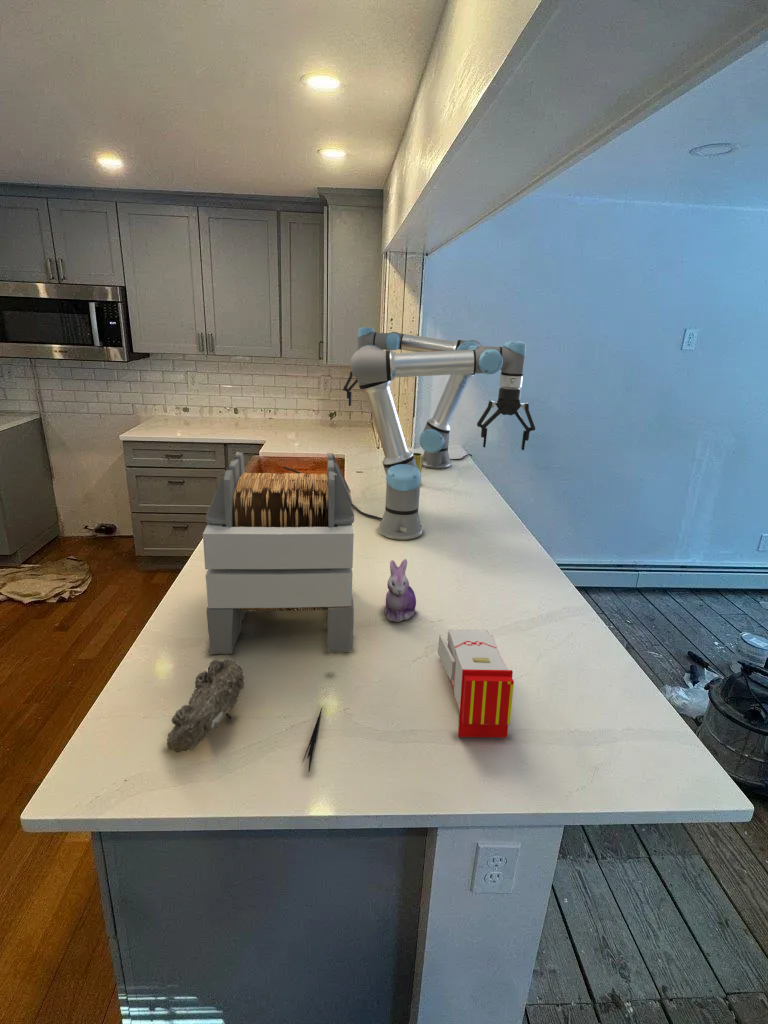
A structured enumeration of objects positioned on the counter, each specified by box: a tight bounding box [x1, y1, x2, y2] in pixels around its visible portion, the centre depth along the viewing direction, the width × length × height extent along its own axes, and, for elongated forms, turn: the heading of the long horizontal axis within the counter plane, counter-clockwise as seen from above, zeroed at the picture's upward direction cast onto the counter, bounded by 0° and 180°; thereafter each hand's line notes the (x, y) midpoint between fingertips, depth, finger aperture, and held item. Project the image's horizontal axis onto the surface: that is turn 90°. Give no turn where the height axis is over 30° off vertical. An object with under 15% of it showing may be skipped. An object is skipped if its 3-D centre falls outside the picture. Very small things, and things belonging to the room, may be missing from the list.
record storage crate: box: [202, 451, 355, 655], centre depth 137 cm, size 34×33×41 cm
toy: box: [437, 628, 515, 738], centre depth 117 cm, size 12×13×30 cm
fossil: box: [166, 658, 245, 754], centre depth 106 cm, size 22×10×15 cm
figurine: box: [384, 558, 417, 623], centre depth 145 cm, size 9×10×15 cm
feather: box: [301, 673, 332, 771], centre depth 108 cm, size 2×28×2 cm
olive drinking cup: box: [412, 452, 423, 487], centre depth 254 cm, size 6×6×14 cm
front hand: (503, 448), depth 203 cm, fingers open, 13 cm apart
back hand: (363, 406), depth 276 cm, fingers open, 13 cm apart
